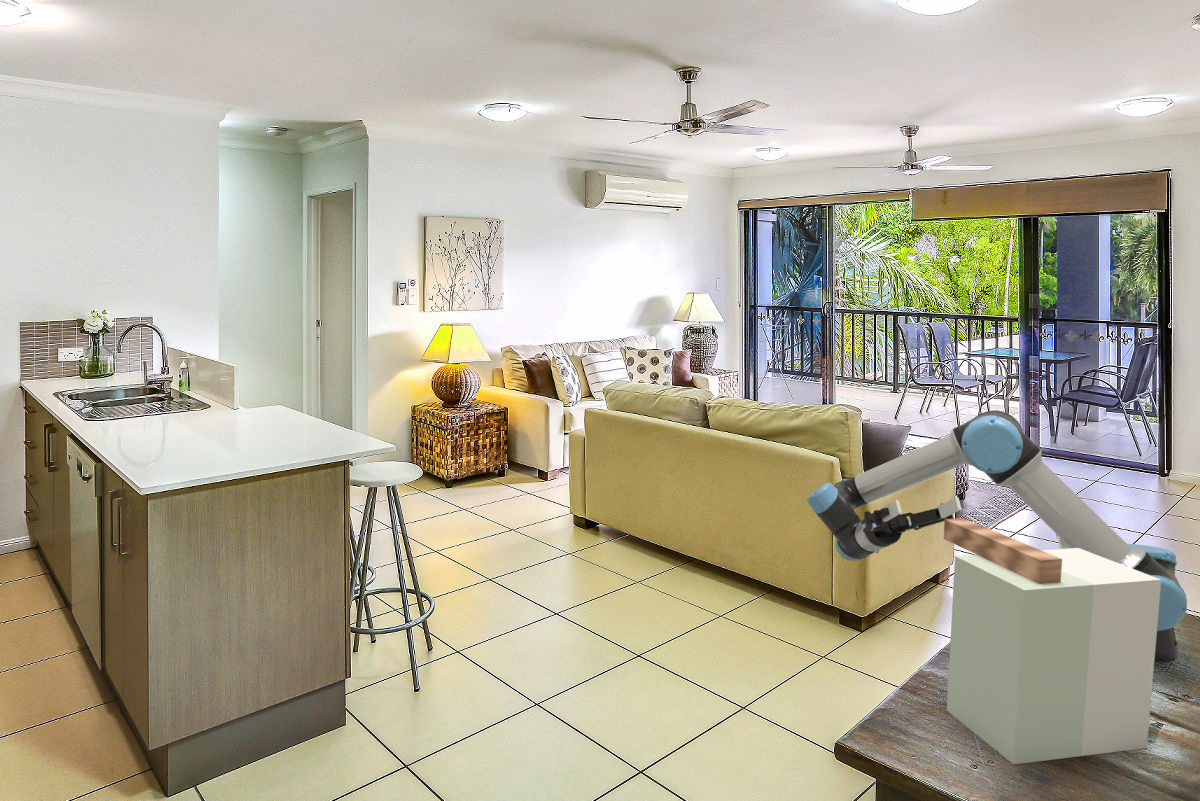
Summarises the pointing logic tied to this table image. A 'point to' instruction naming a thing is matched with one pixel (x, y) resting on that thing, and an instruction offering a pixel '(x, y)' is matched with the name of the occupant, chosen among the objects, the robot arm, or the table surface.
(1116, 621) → the pale green cube
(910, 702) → the table surface
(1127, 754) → the table surface
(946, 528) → the bar
